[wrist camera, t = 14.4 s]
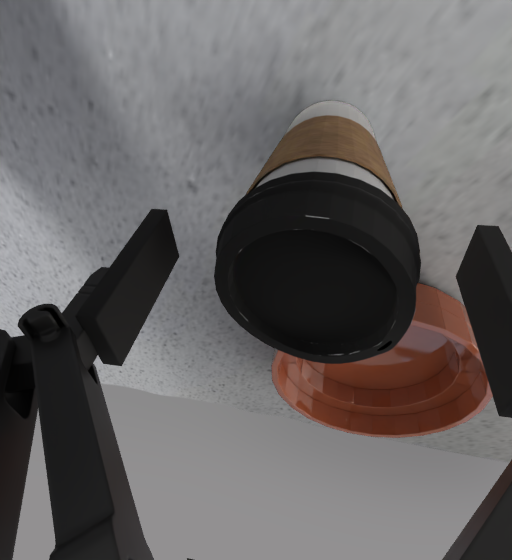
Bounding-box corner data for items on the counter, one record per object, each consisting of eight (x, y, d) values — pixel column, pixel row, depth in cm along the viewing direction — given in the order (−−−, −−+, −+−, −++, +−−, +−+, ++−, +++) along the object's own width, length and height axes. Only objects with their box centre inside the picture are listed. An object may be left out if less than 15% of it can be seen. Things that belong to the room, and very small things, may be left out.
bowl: (280, 383, 45) (274, 421, 42) (277, 265, 33) (268, 305, 29) (446, 406, 42) (454, 450, 38) (515, 284, 29) (538, 332, 26)
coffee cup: (341, 220, 28) (334, 392, 18) (246, 163, 27) (173, 315, 16) (424, 126, 23) (489, 294, 12) (310, 47, 21) (264, 159, 10)
